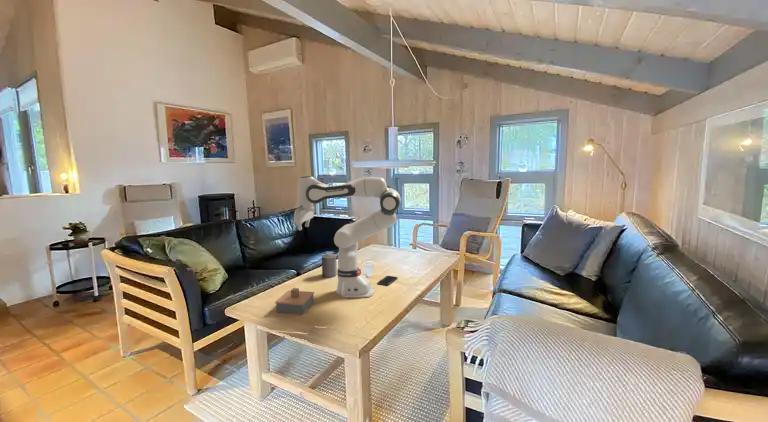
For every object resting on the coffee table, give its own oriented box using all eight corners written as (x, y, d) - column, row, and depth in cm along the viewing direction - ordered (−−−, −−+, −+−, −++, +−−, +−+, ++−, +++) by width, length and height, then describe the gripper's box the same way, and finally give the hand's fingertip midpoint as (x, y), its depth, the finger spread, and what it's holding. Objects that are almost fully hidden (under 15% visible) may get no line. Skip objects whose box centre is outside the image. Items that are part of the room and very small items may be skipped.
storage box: (313, 303, 179) (313, 293, 179) (303, 315, 166) (302, 305, 165) (289, 302, 182) (288, 292, 181) (276, 313, 168) (276, 303, 167)
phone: (398, 277, 216) (388, 284, 203) (398, 278, 217) (388, 286, 203) (387, 275, 220) (376, 282, 207) (387, 277, 220) (376, 284, 207)
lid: (313, 293, 179) (313, 284, 178) (302, 305, 165) (302, 295, 164) (288, 292, 181) (287, 283, 180) (275, 303, 167) (274, 293, 166)
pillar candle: (319, 274, 225) (319, 253, 222) (333, 271, 230) (332, 250, 228) (326, 279, 217) (325, 256, 214) (339, 275, 222) (339, 254, 220)
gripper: (302, 207, 178) (301, 233, 180) (316, 202, 198) (315, 225, 200) (291, 206, 179) (290, 231, 181) (306, 201, 199) (305, 224, 201)
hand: (303, 228), depth 191 cm, fingers open, 8 cm apart
